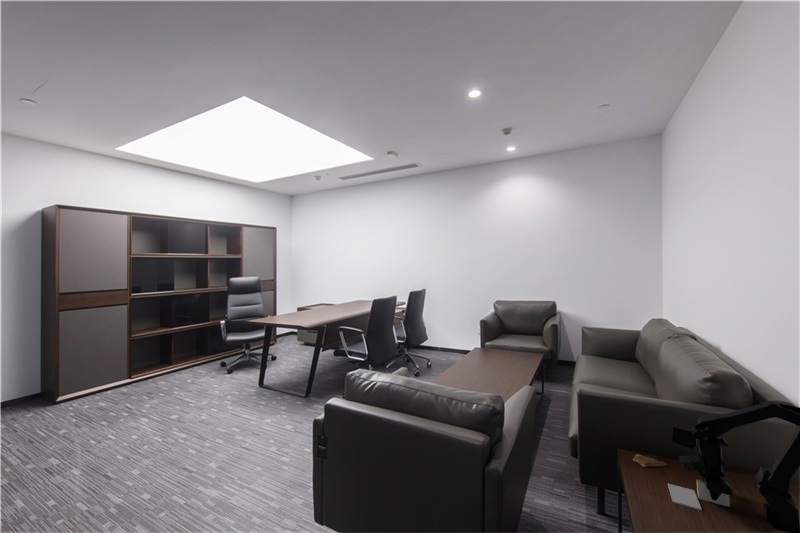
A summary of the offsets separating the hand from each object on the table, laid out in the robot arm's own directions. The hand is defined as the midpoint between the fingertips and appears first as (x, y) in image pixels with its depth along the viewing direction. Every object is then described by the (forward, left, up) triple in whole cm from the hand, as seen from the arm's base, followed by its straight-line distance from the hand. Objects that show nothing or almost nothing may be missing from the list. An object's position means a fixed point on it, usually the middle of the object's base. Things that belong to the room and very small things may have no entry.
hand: (712, 498), depth 112 cm
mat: (+8, +2, -1) cm, 9 cm away
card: (0, 0, -1) cm, 1 cm away
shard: (+17, -18, -2) cm, 25 cm away
